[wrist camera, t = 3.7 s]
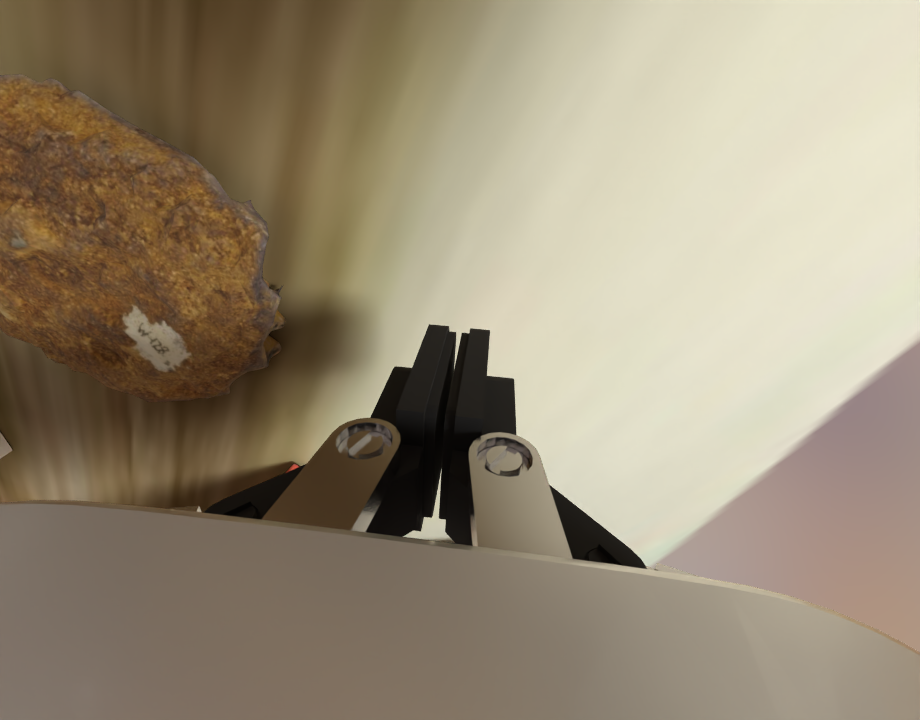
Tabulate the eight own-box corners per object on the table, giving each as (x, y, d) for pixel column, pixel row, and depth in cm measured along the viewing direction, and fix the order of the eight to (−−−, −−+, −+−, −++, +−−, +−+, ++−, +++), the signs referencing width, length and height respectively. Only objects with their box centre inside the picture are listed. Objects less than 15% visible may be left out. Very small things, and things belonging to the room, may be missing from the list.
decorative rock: (-25, 276, 20) (278, 394, 22) (-136, 317, 16) (236, 451, 19) (-113, -17, 13) (326, 193, 16) (-322, -47, 10) (276, 225, 12)
